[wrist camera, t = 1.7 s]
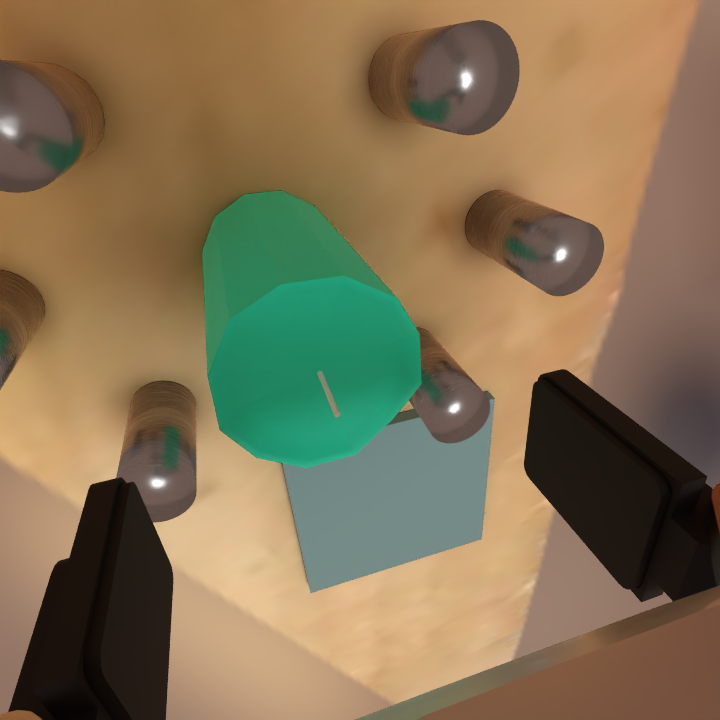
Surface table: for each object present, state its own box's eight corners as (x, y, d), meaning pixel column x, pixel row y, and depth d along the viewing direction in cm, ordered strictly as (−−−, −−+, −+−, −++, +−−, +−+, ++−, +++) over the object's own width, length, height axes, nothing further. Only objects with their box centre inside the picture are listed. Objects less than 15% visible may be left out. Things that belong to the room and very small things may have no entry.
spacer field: (-174, 79, 15) (-356, 83, 10) (539, 23, 20) (652, 7, 15) (44, 460, 23) (4, 564, 18) (505, 353, 28) (571, 411, 23)
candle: (238, 338, 23) (271, 536, 13) (175, 221, 20) (156, 369, 10) (353, 290, 24) (467, 447, 14) (310, 168, 20) (421, 258, 10)
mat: (277, 443, 27) (279, 452, 26) (487, 391, 30) (494, 398, 29) (308, 582, 34) (310, 593, 33) (476, 530, 36) (481, 539, 36)
